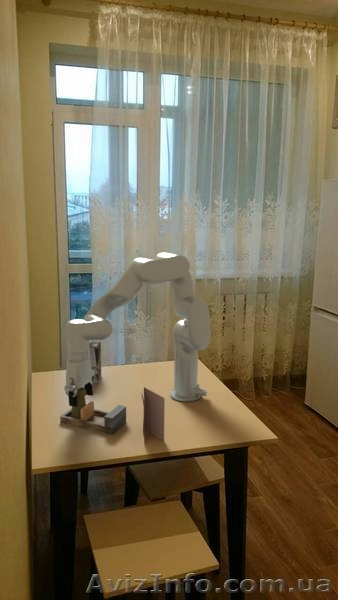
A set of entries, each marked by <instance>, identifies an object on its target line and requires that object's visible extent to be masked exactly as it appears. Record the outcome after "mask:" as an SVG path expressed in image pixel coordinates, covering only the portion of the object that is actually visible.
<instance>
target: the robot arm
mask: <svg viewBox="0 0 338 600" xmlns="http://www.w3.org/2000/svg"><path fill="white" fill-rule="evenodd" d="M190 267H191V266H190V261H189V260H188V258H187V257H186V256H184V255H182V254H179V253H172V252H167V251H164V252H160V253H158V254H157V255H156V256H155V258H154V259H151V258H150V259H149V258H145V257H137V258H135V259H134V260H132V261H131V262H130V264H129V265H128V267H127V268H126V269H125V270H124V272H123V273H122V274H121V276H120V277H119V279H118V280H117V282H115V284H114V285H113V286H112V288H111V289H109V290H108V291H107V292H105V293H104V294H103V295H101V296H100V297H99V298H98V299H97V300H96V301H95V302H94V303H93V304H92V306H91V307H90V308H89V310H88V311H87V313H86V314H85V315H84V318H83V319H81V318H76V319H75V318H74V319H70V320H68V321H67V322H66V325H65V332H66V334H65V335H66V349H67V362H66V367H65V385H64V387H63V389H64V392H65V394H66V395H67V397H68V406H70V407H72V406H73V407H77V406H78V403H77V396H76V393H77V390H78V389H80V388H81V387H83V388H85V389H86V396H89V397H92V396H93V393H94V390H93V384H94V383H93V379H94V372H95V371H94V370H92V368H91V361H90V351H89V342H90V341H103V340H107V339H108V338H109V337H111V335H112V333H113V325H112V323H111V322H110V321H109V320H107V318H108V317H109V316H110V314H112V312H114V311H115V310H116V309H118V308H121V307H123V306H127V305H129V304H131V303H132V302H133V300H135V298H136V296H137V295H138V294H139V293H140V291H141V290H142V288H143V287H144V286H145V284H148V285H149V284H150V285H154V284H160V283H161V284H162V283H167V282H169V283H170V287H171V294H172V295H171V296H172V305H173V306H172V307H173V312H174V314H175V315H176V316H177V317H179V318H181V319H180V320H178V321H177V322H176V323H175V324H174V325H173V328H172V339H173V347H174V363H173V365H174V369H173V379H174V380H173V389H171V390H170V392H169V396H170V397H171V398H172V399H174V400H175V401H178V402H194V401H197V400H199V399H200V398H201V397H202V396H203V397H207V395H208V391H207V389H205V388H201V387H200V384H199V383H198V377H199V376H198V372H199V368H198V366H199V351H203V350H204V349H206V348H207V347H209V344H210V342H211V338H212V337H211V336H212V335H211V334H212V330H211V318H210V317H211V316H210V315H211V314H210V309H209V306H208V304H207V302H206V301H205V300H204V299H203V298H201V297H198V296H196V294H195V288H194V281H193V277H192V275H191V272H190ZM72 389H74V392H72Z"/></svg>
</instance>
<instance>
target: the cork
mask: <svg viewBox="0 0 338 600" xmlns="http://www.w3.org/2000/svg"><path fill="white" fill-rule="evenodd" d="M72 392H74V389H72ZM76 396H77V403H78V406H77V407H73V406H71V409H72V412H71V417H72V418H76V419H81V408H83V407H84V406H85V405H87V402H86V396H87V395H86V389H85V388H84V386H83V387H81V388H80V389H78V390H77V393H76Z"/></svg>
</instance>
